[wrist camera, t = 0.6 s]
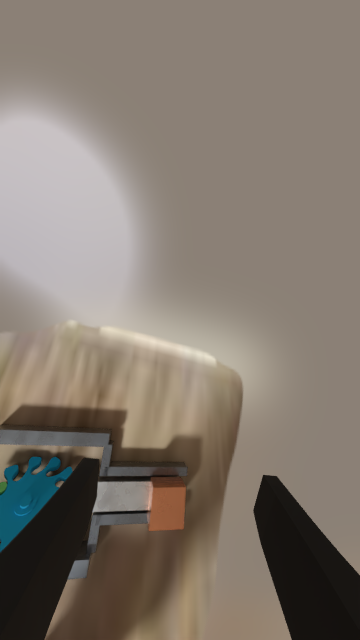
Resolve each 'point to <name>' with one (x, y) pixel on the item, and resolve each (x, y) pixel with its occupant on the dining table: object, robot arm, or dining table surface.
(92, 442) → the socket
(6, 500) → the gear
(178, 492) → the orange block
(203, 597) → the dining table surface
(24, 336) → the dining table surface
